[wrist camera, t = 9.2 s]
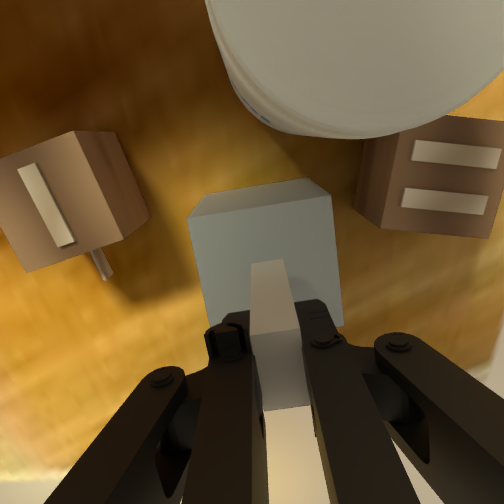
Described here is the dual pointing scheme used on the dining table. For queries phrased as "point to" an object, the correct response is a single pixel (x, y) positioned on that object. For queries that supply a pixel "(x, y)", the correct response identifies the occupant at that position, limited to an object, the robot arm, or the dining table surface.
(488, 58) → the supplement tub
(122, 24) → the dining table surface
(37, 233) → the marked cube left
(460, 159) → the marked cube right
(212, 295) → the plain block
